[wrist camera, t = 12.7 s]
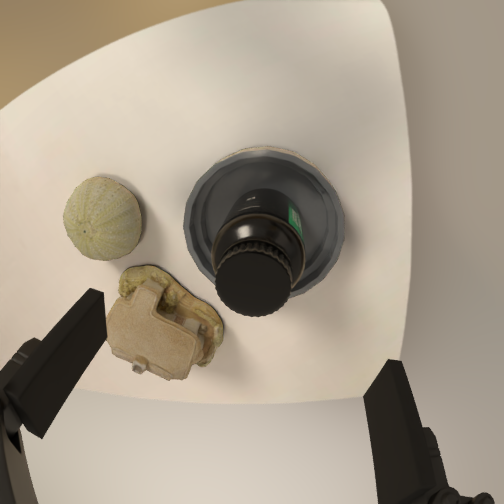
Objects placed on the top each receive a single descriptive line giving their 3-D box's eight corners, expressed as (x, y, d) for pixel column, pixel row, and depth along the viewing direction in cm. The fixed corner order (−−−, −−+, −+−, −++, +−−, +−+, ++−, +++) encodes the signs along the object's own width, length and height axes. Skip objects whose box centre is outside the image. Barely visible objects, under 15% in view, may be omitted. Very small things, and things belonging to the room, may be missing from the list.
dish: (236, 119, 27) (229, 119, 23) (366, 197, 28) (375, 207, 25) (172, 242, 32) (161, 256, 29) (288, 304, 34) (288, 323, 31)
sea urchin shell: (148, 268, 32) (76, 284, 27) (125, 239, 37) (65, 251, 32) (148, 182, 28) (66, 192, 23) (124, 167, 33) (58, 175, 28)
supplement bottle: (300, 186, 28) (310, 232, 17) (300, 254, 31) (306, 330, 20) (227, 187, 29) (191, 234, 18) (232, 254, 32) (205, 328, 21)
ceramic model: (111, 318, 38) (75, 368, 29) (128, 250, 33) (82, 297, 24) (206, 364, 39) (188, 423, 30) (241, 304, 35) (226, 368, 26)
